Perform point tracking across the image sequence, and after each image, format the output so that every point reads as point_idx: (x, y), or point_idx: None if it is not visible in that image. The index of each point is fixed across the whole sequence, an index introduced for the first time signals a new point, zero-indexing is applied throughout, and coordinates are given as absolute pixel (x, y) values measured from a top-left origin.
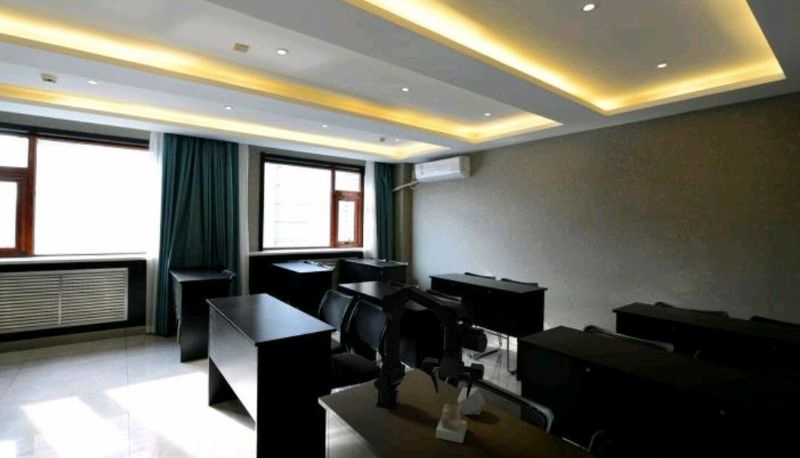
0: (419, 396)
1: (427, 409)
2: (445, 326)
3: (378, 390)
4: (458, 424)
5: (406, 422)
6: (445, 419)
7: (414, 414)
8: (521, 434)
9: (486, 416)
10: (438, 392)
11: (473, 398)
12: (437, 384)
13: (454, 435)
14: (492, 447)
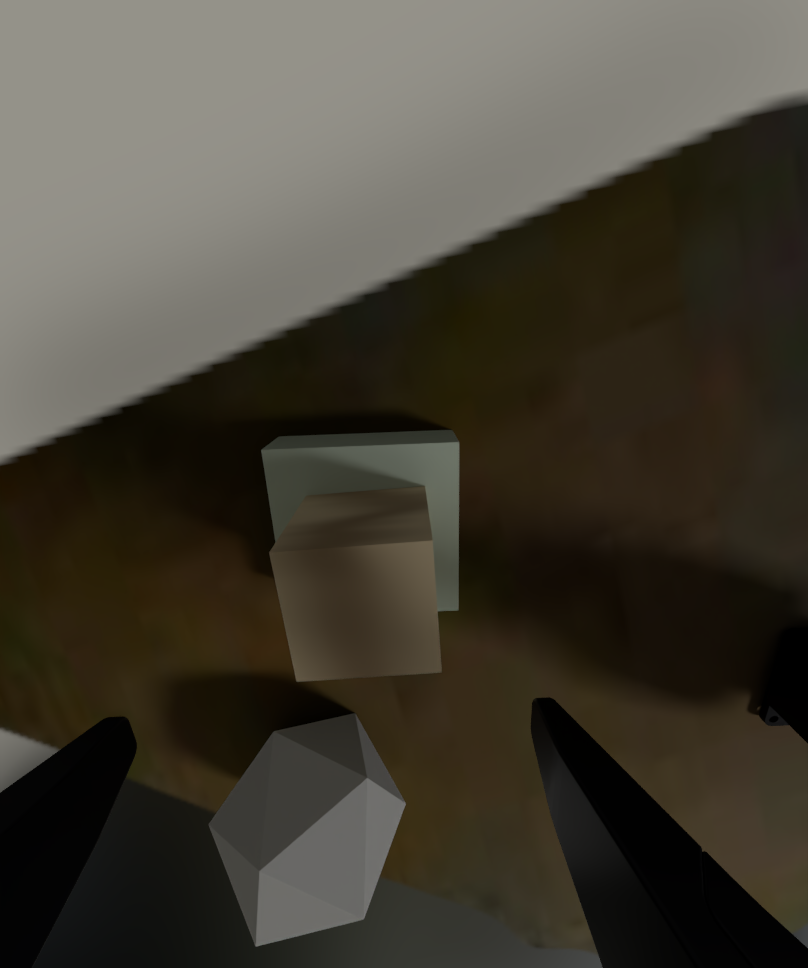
0: None
1: (568, 695)
2: None
3: None
4: (296, 511)
5: (673, 523)
6: (400, 512)
7: (636, 622)
8: (10, 645)
9: (236, 737)
10: (532, 724)
11: (262, 825)
12: (606, 851)
13: (322, 442)
14: (100, 463)
